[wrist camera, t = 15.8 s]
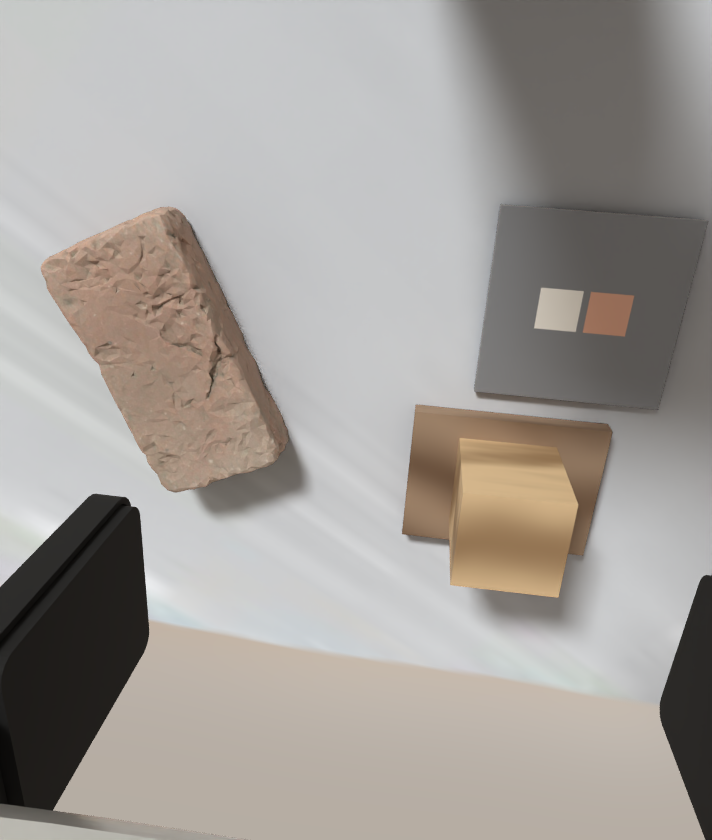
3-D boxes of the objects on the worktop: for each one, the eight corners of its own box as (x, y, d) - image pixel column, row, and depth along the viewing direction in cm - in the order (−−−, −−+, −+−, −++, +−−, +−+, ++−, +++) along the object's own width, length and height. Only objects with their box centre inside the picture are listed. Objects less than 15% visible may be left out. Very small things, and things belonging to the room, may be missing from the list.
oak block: (459, 437, 41) (462, 492, 35) (556, 447, 41) (578, 504, 34) (449, 519, 44) (450, 585, 37) (541, 529, 43) (558, 597, 37)
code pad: (500, 204, 37) (501, 205, 36) (704, 219, 36) (708, 221, 35) (474, 388, 41) (474, 391, 41) (655, 406, 40) (658, 409, 40)
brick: (297, 438, 44) (282, 470, 40) (190, 473, 46) (165, 507, 42) (185, 198, 39) (154, 204, 35) (71, 249, 41) (27, 262, 37)
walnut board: (415, 404, 42) (415, 411, 41) (607, 424, 41) (612, 432, 40) (403, 524, 46) (402, 534, 45) (579, 545, 45) (582, 555, 44)
